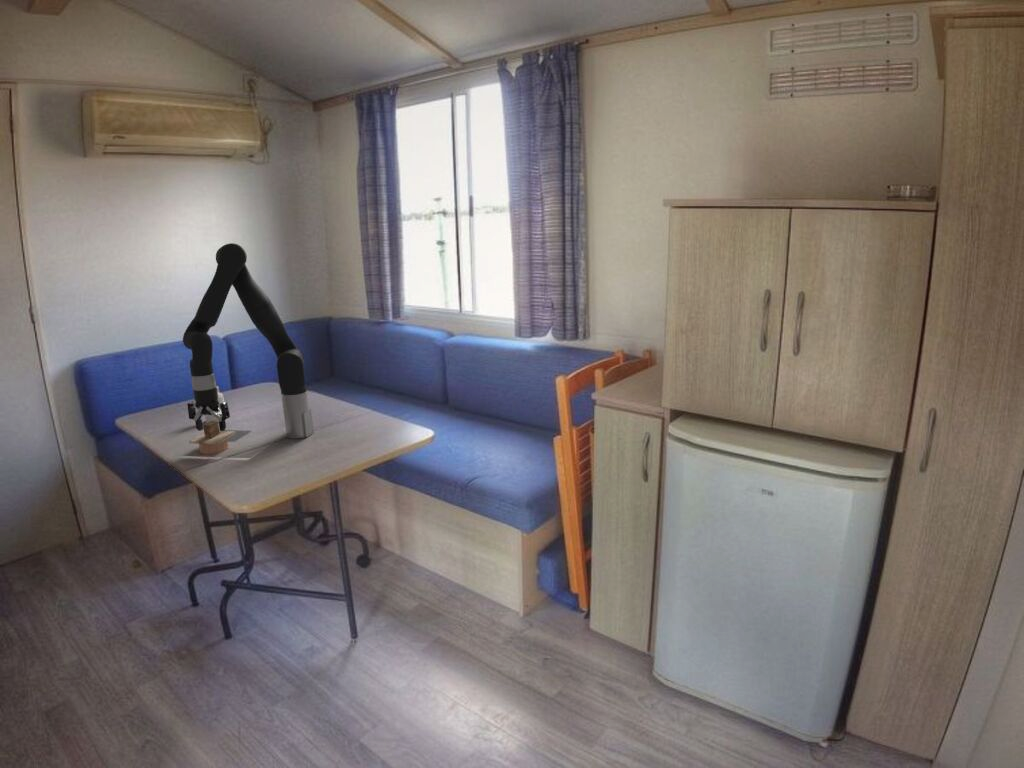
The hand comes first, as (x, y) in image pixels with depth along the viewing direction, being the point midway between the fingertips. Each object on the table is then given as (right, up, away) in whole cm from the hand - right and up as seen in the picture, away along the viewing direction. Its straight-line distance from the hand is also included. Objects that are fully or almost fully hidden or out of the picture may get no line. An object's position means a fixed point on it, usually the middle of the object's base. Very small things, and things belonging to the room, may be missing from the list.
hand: (211, 430), depth 219 cm
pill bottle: (-15, 0, +34) cm, 37 cm away
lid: (0, -3, +1) cm, 3 cm away
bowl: (0, -8, +2) cm, 8 cm away
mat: (-1, -4, +16) cm, 16 cm away
